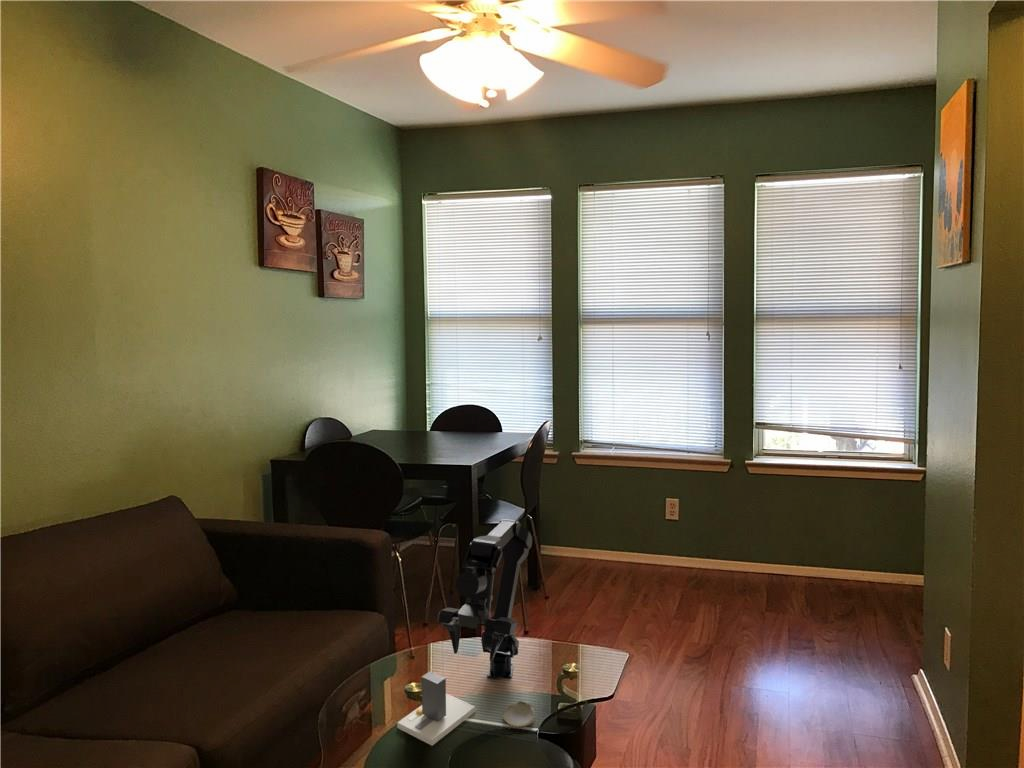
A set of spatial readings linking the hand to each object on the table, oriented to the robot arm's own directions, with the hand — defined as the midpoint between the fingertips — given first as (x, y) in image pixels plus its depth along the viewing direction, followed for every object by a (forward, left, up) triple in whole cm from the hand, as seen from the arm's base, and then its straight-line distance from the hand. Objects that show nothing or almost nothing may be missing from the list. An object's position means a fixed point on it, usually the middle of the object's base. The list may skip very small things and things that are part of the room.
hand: (473, 656), depth 196 cm
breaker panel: (+3, -8, -16) cm, 18 cm away
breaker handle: (+4, -9, -14) cm, 17 cm away
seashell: (0, +12, -16) cm, 20 cm away
